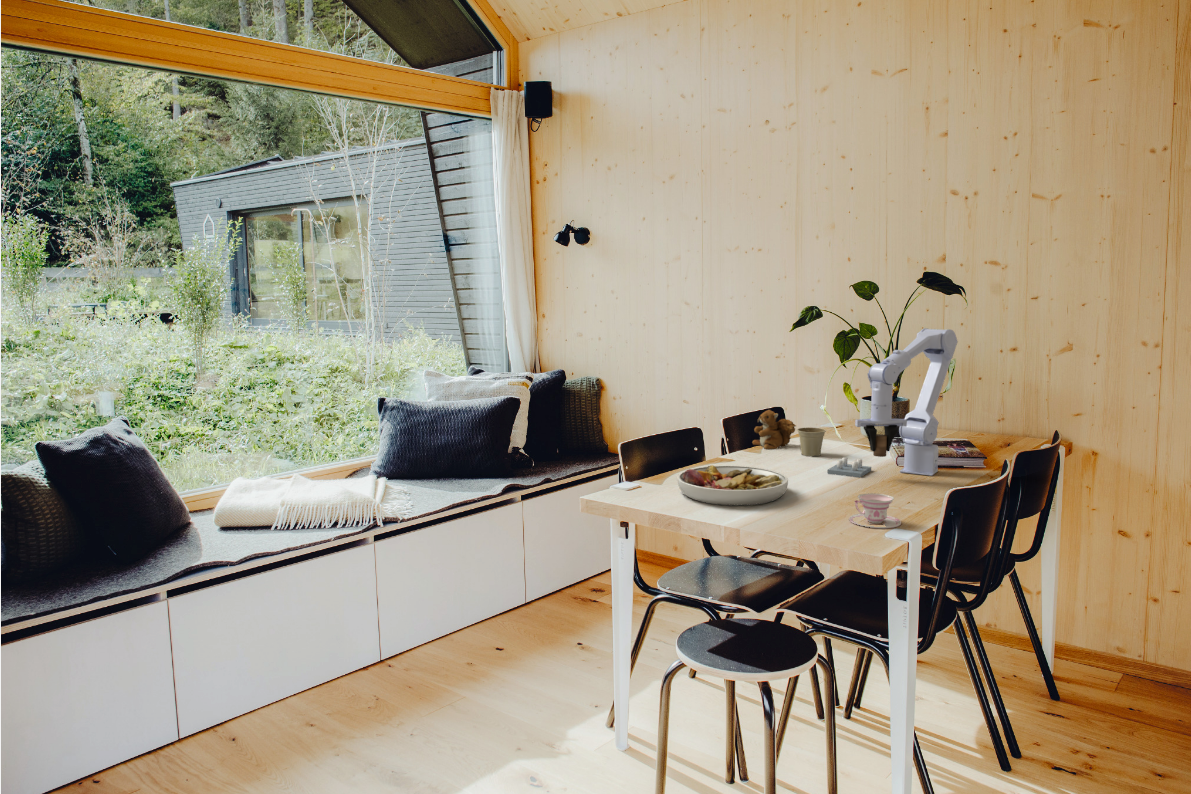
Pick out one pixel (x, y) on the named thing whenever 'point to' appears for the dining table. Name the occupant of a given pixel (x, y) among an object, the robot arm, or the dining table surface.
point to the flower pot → (811, 440)
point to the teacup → (876, 510)
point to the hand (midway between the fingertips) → (879, 450)
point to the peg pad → (849, 468)
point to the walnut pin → (880, 445)
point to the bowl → (732, 485)
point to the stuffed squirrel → (773, 431)
